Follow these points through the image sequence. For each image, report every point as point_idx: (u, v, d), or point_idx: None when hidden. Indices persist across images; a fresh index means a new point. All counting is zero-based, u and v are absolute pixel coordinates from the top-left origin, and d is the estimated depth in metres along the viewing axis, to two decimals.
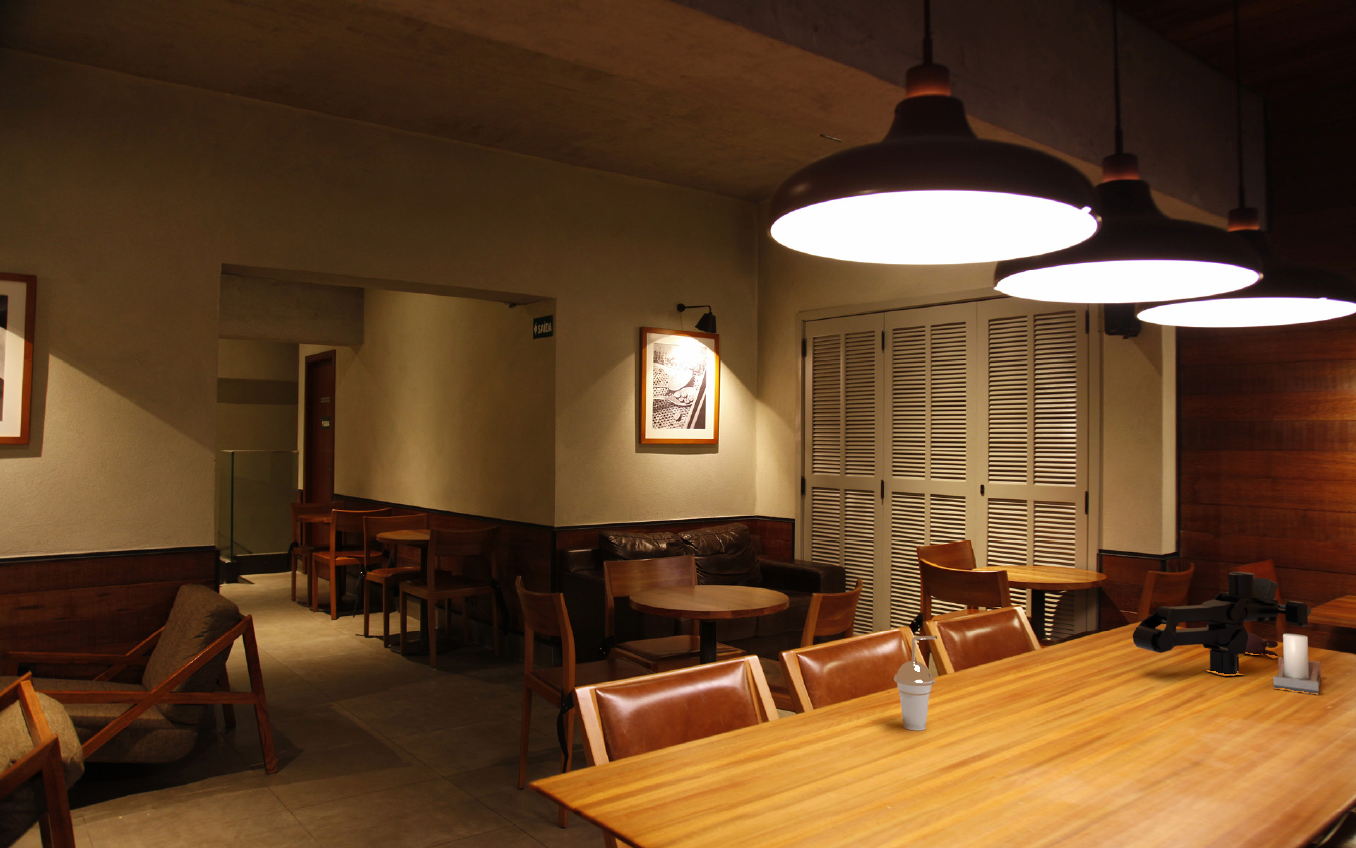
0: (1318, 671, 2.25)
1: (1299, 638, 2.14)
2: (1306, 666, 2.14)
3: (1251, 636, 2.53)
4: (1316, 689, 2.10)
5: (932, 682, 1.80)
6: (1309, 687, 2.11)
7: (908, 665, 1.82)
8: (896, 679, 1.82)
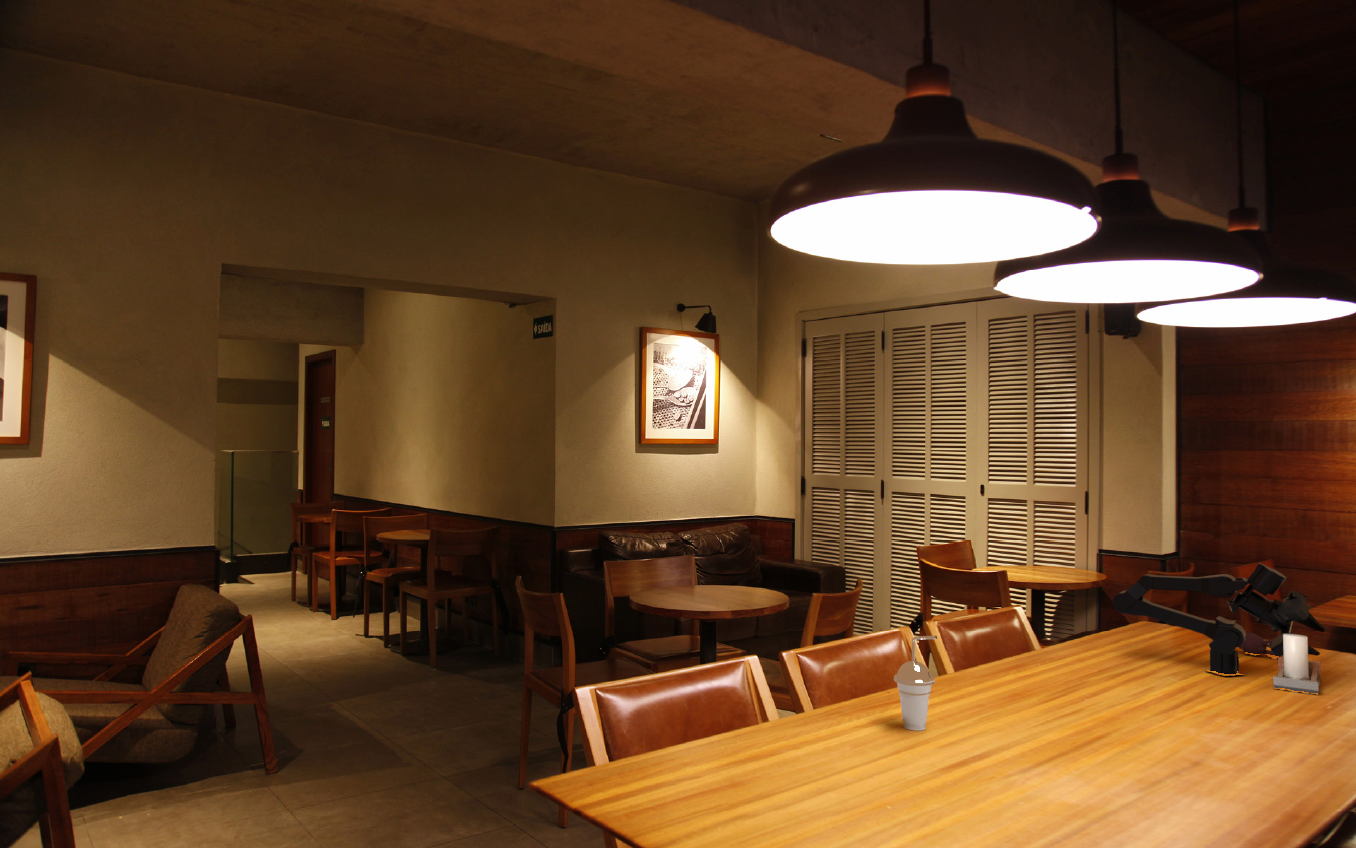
0: (1318, 671, 2.25)
1: (1299, 638, 2.14)
2: (1306, 666, 2.14)
3: (1251, 636, 2.53)
4: (1316, 689, 2.10)
5: (932, 682, 1.80)
6: (1309, 687, 2.11)
7: (908, 665, 1.82)
8: (896, 679, 1.82)
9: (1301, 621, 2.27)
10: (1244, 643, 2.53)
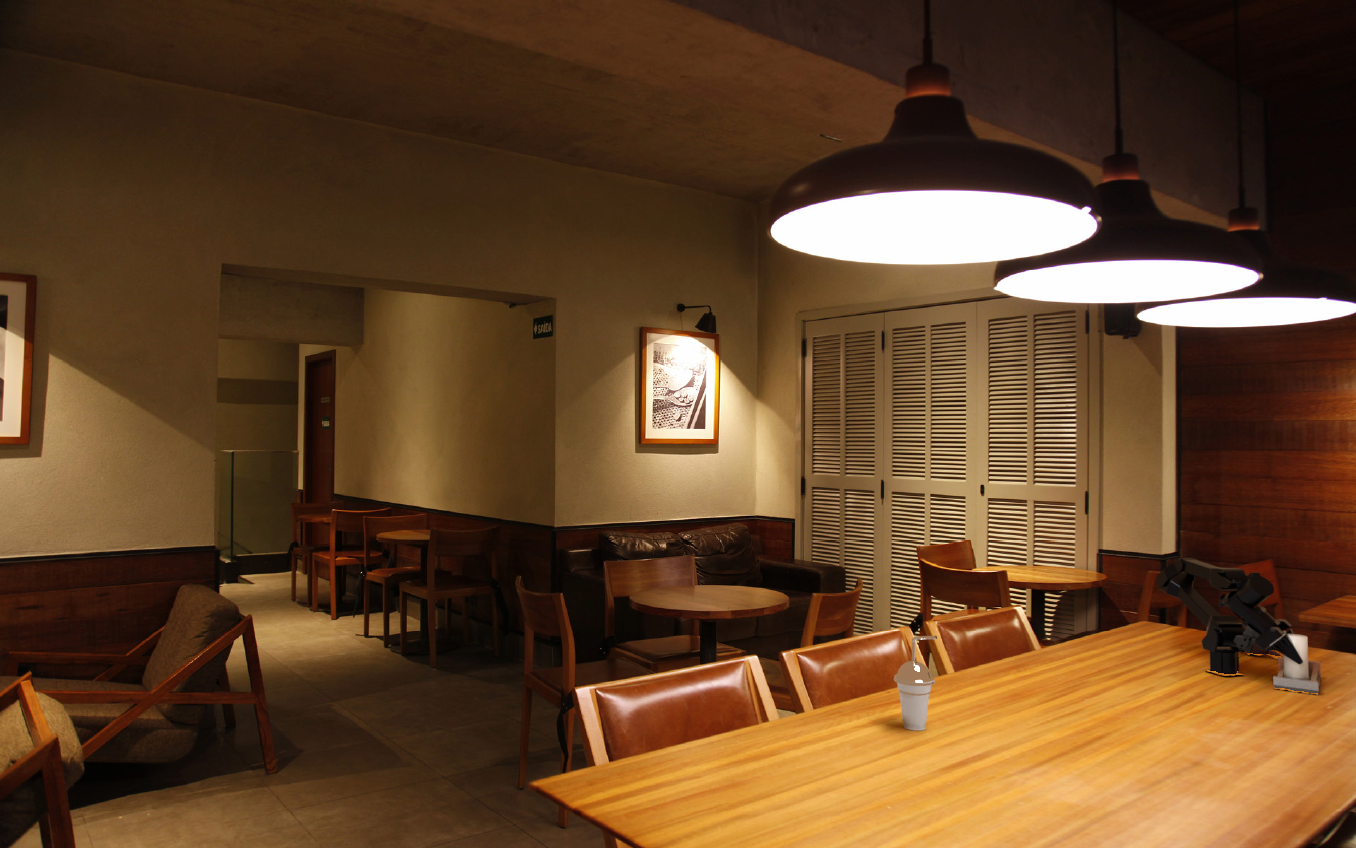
0: (1318, 671, 2.25)
1: (1299, 638, 2.14)
2: (1306, 666, 2.14)
3: None
4: (1316, 689, 2.10)
5: (932, 682, 1.80)
6: (1309, 687, 2.11)
7: (908, 665, 1.82)
8: (896, 679, 1.82)
9: None
10: None
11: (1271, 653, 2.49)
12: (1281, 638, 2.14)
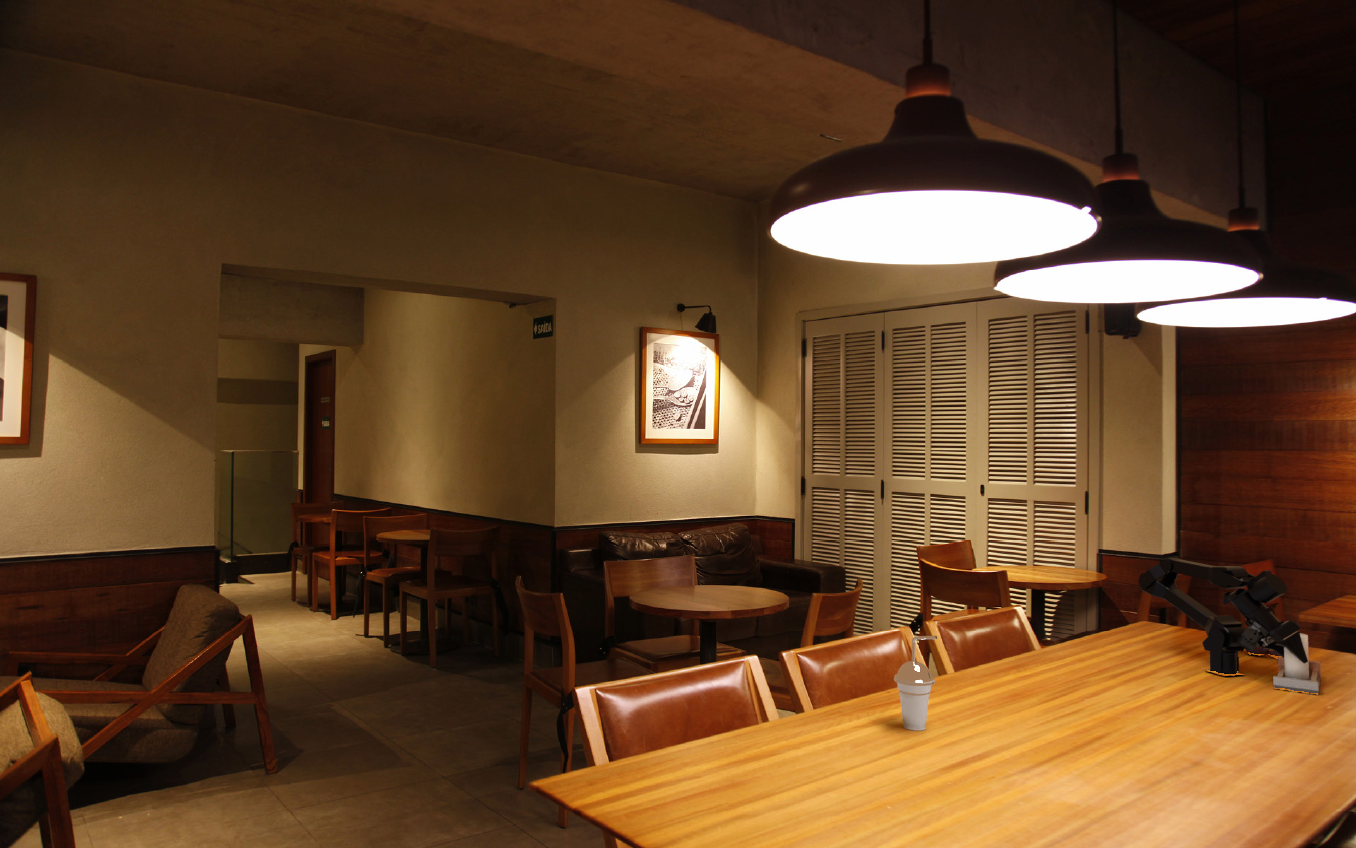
0: (1318, 671, 2.25)
1: None
2: (1306, 664, 2.16)
3: None
4: (1316, 689, 2.10)
5: (932, 682, 1.80)
6: (1309, 687, 2.11)
7: (908, 665, 1.82)
8: (896, 679, 1.82)
9: None
10: None
11: (1272, 653, 2.49)
12: (1295, 633, 2.14)
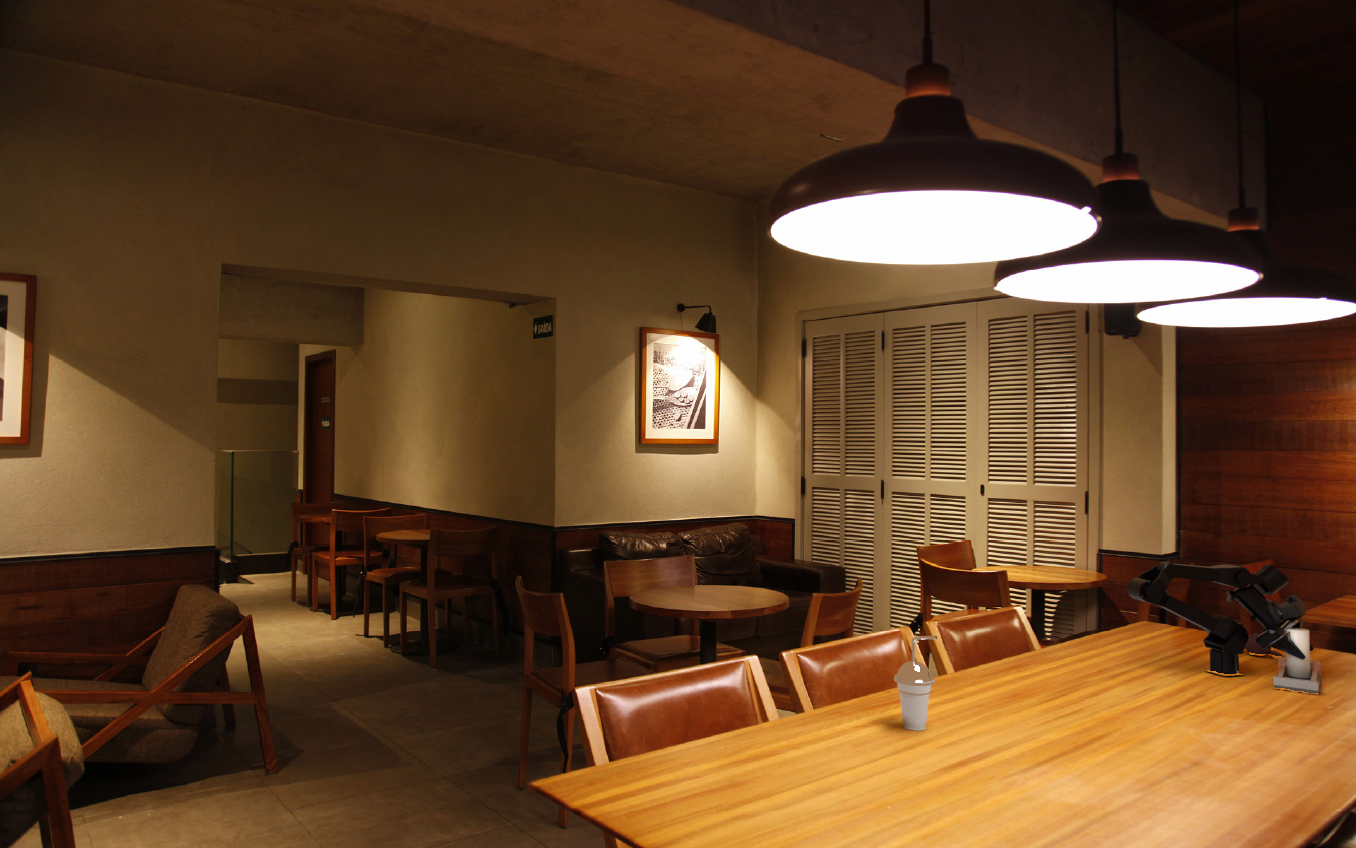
0: (1318, 671, 2.25)
1: (1301, 632, 2.23)
2: (1308, 658, 2.23)
3: (1256, 637, 2.52)
4: (1316, 689, 2.10)
5: (932, 682, 1.80)
6: (1309, 687, 2.11)
7: (908, 665, 1.82)
8: (896, 679, 1.82)
9: None
10: (1248, 643, 2.52)
11: (1273, 653, 2.49)
12: None
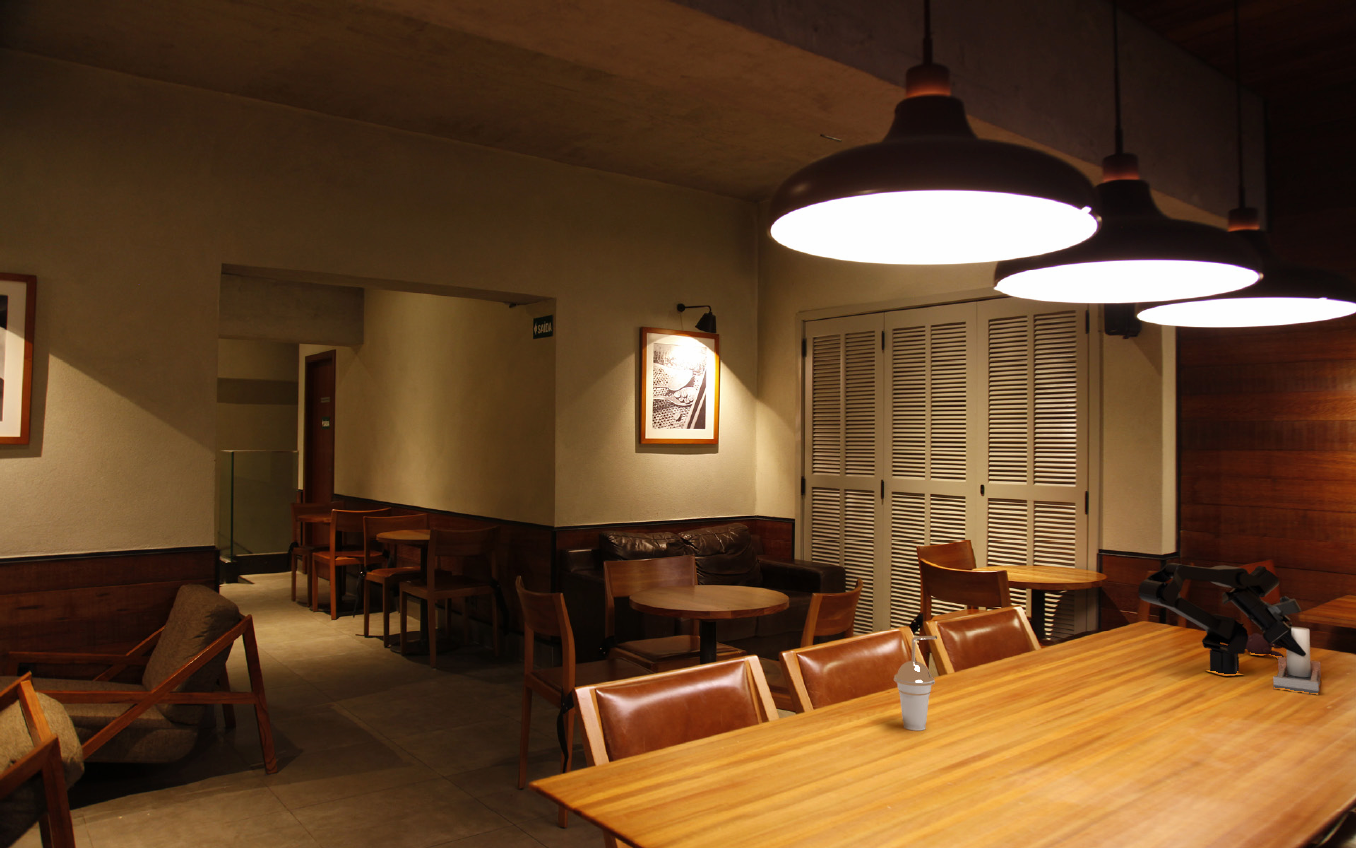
0: (1318, 671, 2.25)
1: (1301, 631, 2.24)
2: (1308, 658, 2.24)
3: (1256, 637, 2.52)
4: (1316, 689, 2.10)
5: (932, 682, 1.80)
6: (1309, 687, 2.11)
7: (908, 665, 1.82)
8: (896, 679, 1.82)
9: None
10: (1249, 643, 2.52)
11: (1274, 653, 2.49)
12: None
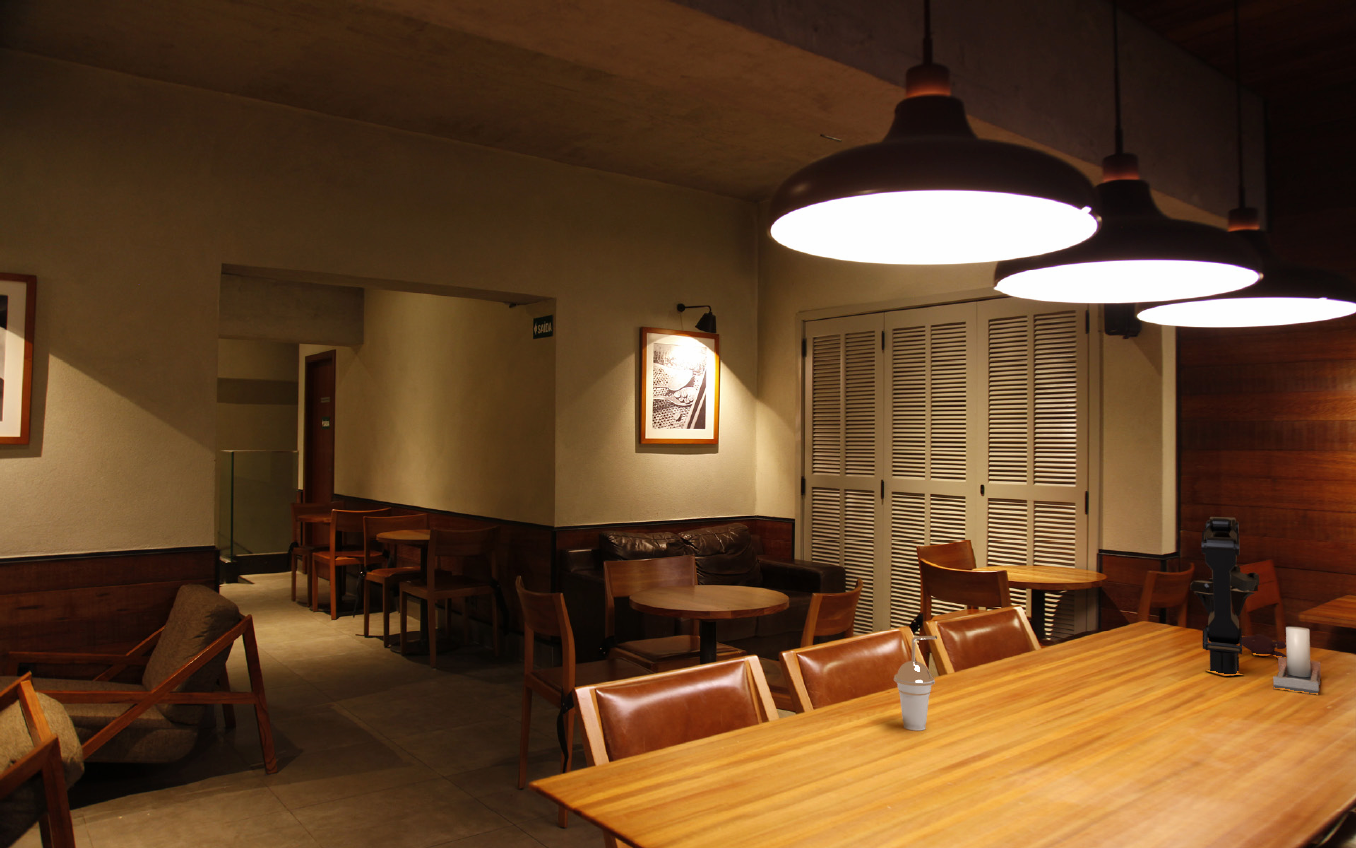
0: (1318, 671, 2.25)
1: (1301, 631, 2.24)
2: (1308, 658, 2.24)
3: (1259, 637, 2.51)
4: (1316, 689, 2.10)
5: (932, 682, 1.80)
6: (1309, 687, 2.11)
7: (908, 665, 1.82)
8: (896, 679, 1.82)
9: (1233, 598, 2.47)
10: (1252, 644, 2.52)
11: (1277, 654, 2.49)
12: None
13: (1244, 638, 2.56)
